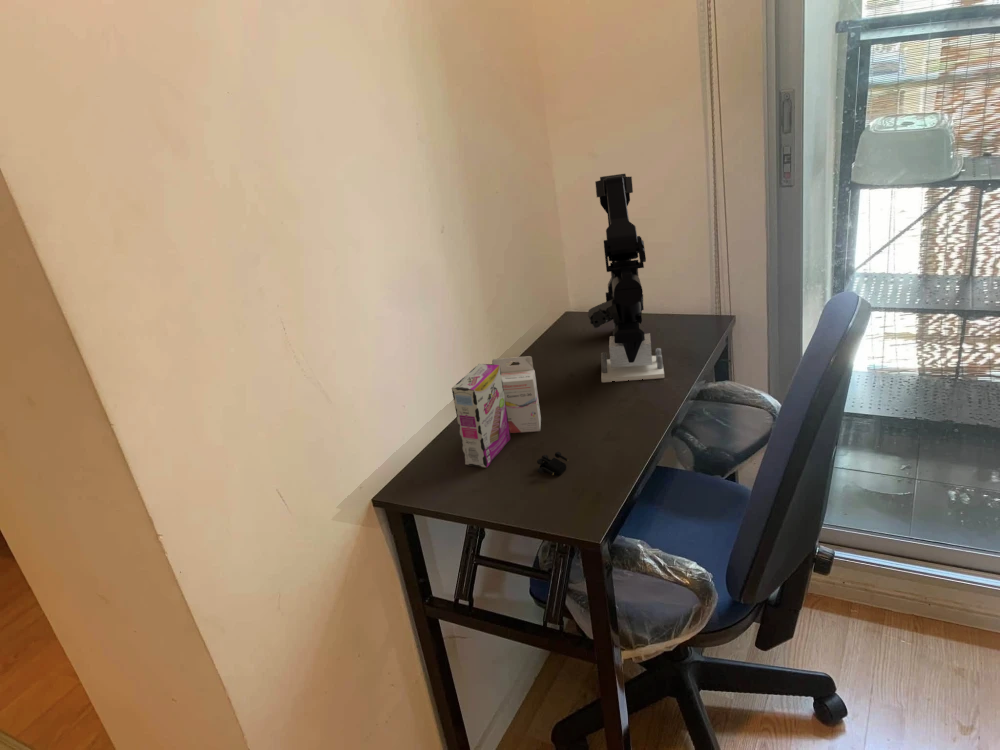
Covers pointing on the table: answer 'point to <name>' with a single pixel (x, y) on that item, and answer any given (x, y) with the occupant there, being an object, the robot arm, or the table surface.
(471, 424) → the candy bar box
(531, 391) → the ink cartridge box
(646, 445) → the table surface
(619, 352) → the block
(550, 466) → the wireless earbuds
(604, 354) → the pin tray
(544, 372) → the table surface
